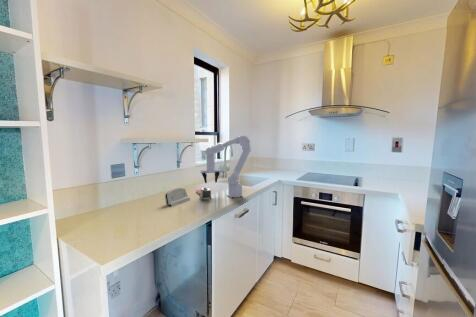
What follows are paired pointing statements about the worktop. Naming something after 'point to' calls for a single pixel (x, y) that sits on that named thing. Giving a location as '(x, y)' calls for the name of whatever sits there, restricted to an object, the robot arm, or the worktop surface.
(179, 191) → the white electronic device
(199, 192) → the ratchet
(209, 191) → the brushed grey cube
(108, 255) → the worktop surface
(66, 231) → the worktop surface
